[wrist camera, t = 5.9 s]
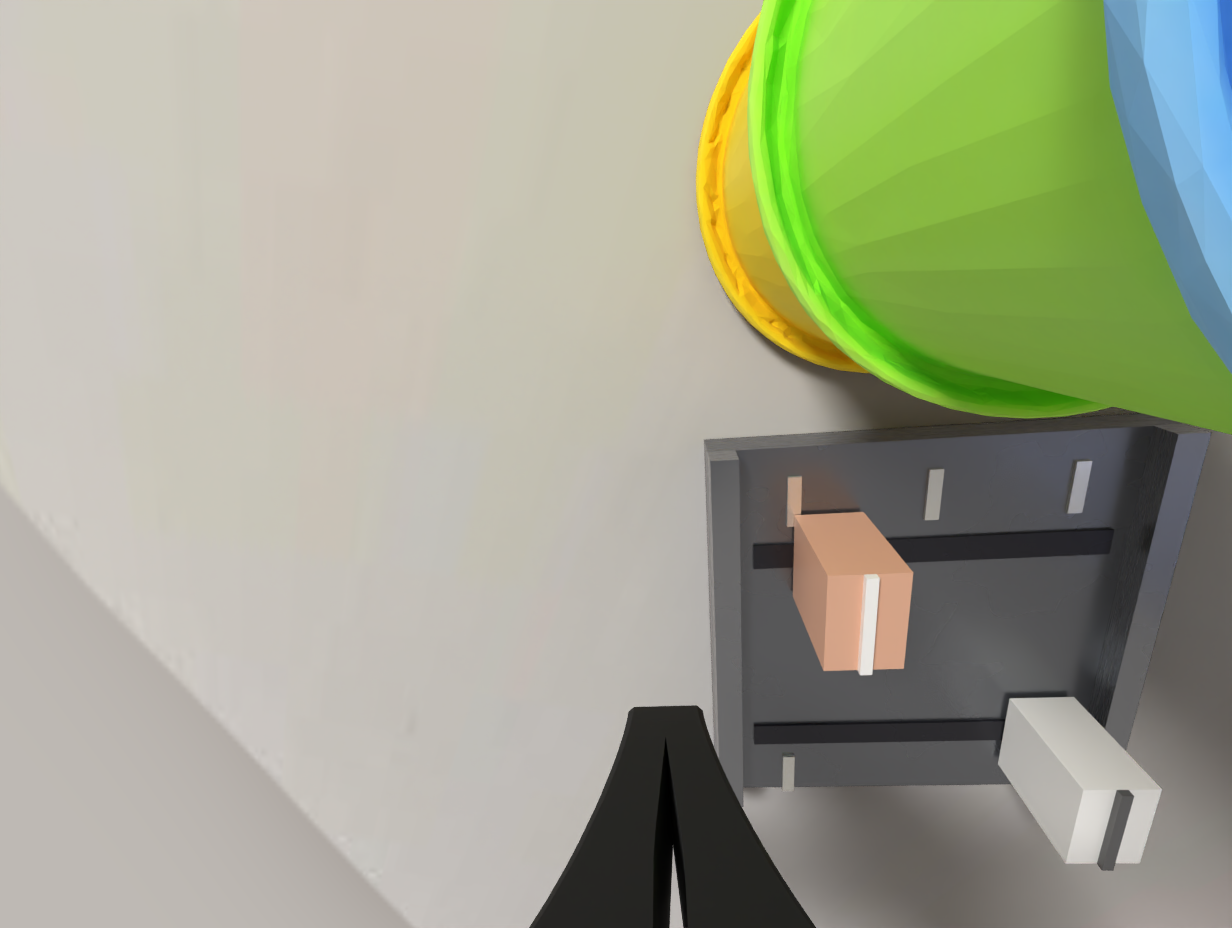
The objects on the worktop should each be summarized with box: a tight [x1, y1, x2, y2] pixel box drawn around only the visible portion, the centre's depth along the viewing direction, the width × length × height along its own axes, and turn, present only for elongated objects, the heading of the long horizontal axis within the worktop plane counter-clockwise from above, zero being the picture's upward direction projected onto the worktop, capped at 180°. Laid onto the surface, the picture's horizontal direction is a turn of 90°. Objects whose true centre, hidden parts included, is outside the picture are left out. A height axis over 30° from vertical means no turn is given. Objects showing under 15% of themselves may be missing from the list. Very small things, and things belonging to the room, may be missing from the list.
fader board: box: [704, 413, 1211, 807], centre depth 19 cm, size 13×13×2 cm
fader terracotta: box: [793, 512, 913, 675], centre depth 16 cm, size 2×3×4 cm
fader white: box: [998, 697, 1162, 870], centre depth 18 cm, size 2×3×4 cm
